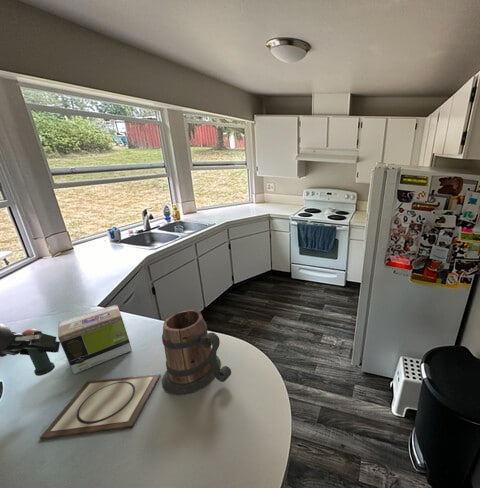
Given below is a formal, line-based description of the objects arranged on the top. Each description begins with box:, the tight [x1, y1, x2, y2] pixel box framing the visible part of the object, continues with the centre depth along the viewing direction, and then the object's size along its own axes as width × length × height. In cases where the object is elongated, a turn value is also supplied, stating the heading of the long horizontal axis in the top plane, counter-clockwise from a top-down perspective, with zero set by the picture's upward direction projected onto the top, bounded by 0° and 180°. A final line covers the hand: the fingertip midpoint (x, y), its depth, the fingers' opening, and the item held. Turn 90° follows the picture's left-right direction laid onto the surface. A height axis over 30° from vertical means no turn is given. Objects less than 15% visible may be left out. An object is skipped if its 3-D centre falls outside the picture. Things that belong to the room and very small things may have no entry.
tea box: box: [57, 304, 133, 375], centre depth 83 cm, size 15×10×15 cm, turn 134°
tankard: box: [161, 309, 232, 396], centre depth 76 cm, size 24×17×20 cm
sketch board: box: [39, 373, 161, 441], centre depth 69 cm, size 20×16×1 cm
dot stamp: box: [21, 328, 56, 377], centre depth 65 cm, size 4×4×13 cm
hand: (49, 348), depth 69 cm, fingers closed on dot stamp, 3 cm apart
